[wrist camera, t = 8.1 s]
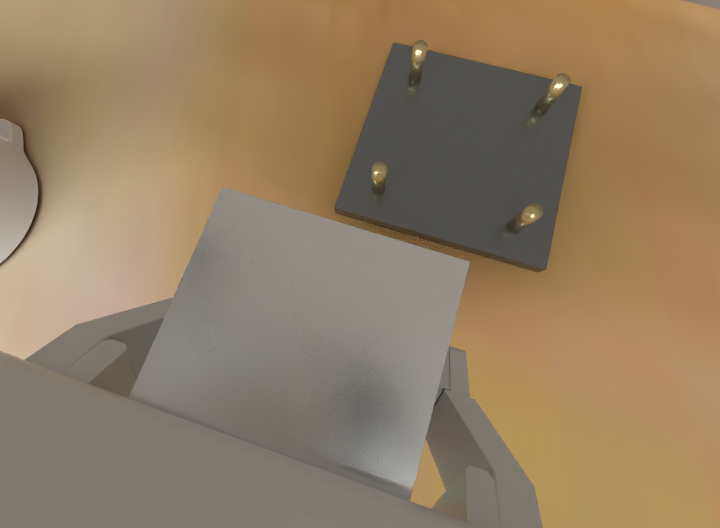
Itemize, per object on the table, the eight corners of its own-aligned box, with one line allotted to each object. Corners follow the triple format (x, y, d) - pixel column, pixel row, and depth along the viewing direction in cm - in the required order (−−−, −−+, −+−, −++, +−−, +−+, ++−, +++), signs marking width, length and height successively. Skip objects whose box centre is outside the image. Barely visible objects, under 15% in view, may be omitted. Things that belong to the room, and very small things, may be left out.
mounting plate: (335, 213, 28) (330, 192, 24) (392, 53, 32) (396, 11, 28) (538, 272, 26) (569, 260, 22) (573, 96, 30) (605, 58, 26)
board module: (215, 405, 15) (-69, 542, 5) (285, 228, 16) (173, 79, 7) (403, 472, 14) (493, 784, 4) (454, 280, 16) (595, 196, 6)
